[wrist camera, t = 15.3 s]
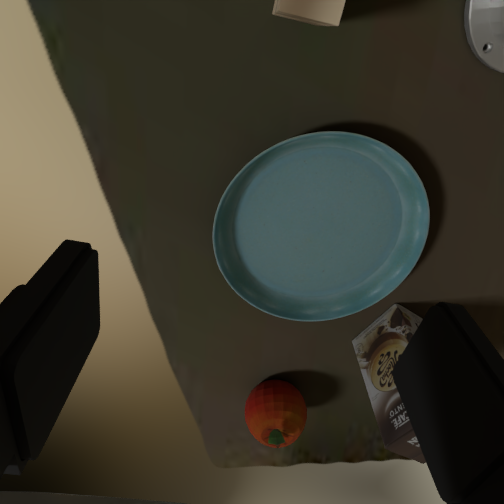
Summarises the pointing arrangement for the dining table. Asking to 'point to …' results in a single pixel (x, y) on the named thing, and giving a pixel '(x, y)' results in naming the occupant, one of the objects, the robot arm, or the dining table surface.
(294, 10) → the plug
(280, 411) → the fruit
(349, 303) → the blue plate
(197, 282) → the dining table surface
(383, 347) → the coffee box
